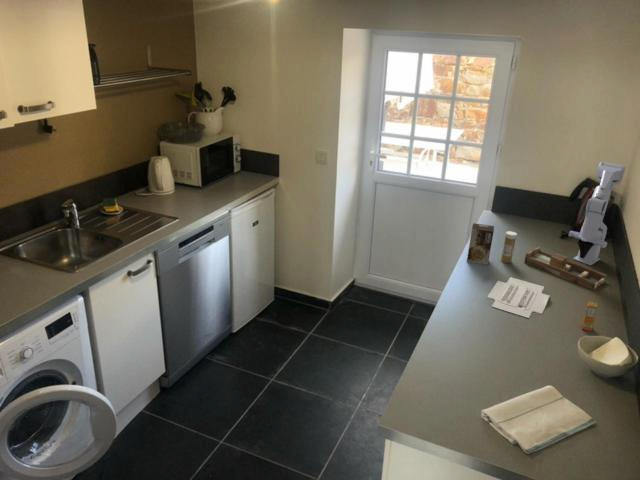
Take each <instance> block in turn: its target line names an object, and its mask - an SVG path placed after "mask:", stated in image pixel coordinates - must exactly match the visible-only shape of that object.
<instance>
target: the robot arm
mask: <svg viewBox="0 0 640 480" xmlns="http://www.w3.org/2000/svg"><path fill="white" fill-rule="evenodd" d="M626 168H627V167H626V165H625V164H623V165H622V164H617V163H610V162H606V161H605V162H604V161H601V162H599V165H598V167H597V171H596V180H597V181H598V182H600V183H599V185H597V186H596V187H595V188H594V191H593V193H592V195H591V198H588V201H587V204H586V207H585V208H586V209H585V210H586V211H585V214H584V215H585V217H584V221H583V223H582V226H581V229H580V231H579V232H578V231H573V230H570V231H569V232H568V237H572V238H576V239H579V240H578V241H577V245H578V248H579V250H578V253H577V255H576V256H574V257H573V258H572V259H573V260H574V261H575V260H576V261H577V262H581V263H583V264H585V265H588V266H592V265H594V264H595V263H596V262H598V261H600V259H601V258H599V256H600V251H601V248H603V249H605V248H606V247H607V245H608V242H607V241H605V239H606V236H607V230H608V227H607V225H606V224H605V222H604V217H605V213H606V211H607V207H608V203H609V200H610V198H611V194H612V191H613V189H614V187H615V186H617V185H618V186H619V185H621V183H622V180H623V177H624V175H625V173H626Z"/></svg>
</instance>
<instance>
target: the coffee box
mask: <svg viewBox="0 0 640 480" xmlns="http://www.w3.org/2000/svg"><path fill="white" fill-rule="evenodd" d="M494 231H495V225H488V224H487V225H486V224H480V223H472V227H471V232H470V233H471V234H470V240H469V245H468V252H467V257H466V262H467V263H473V264H479V265H485V266H488V265H489V259H490V255H491V249H492V243H493V238H494Z"/></svg>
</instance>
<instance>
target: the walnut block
mask: <svg viewBox="0 0 640 480" xmlns="http://www.w3.org/2000/svg"><path fill="white" fill-rule="evenodd" d="M552 255H553V256H551V259H550V263H549V265H552V266H555V267H557V268H560V269H561V268H563V267H564V266H566V263H567V260H568V258H569V257H568V256H565V255H562V254H561V253H557V252H556V253H554V254H552Z"/></svg>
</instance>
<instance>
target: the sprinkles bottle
mask: <svg viewBox="0 0 640 480" xmlns="http://www.w3.org/2000/svg"><path fill="white" fill-rule="evenodd" d="M504 236H505V237H504V243H503V247H502V253H501V258H500V261H501V262H503V263H505V264H510V263H511V262H512V259H513V255H514V249H515V244H516V240H517V236H518V233H517V232H515V231H509V230H508V231H506V232H505V235H504Z"/></svg>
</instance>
